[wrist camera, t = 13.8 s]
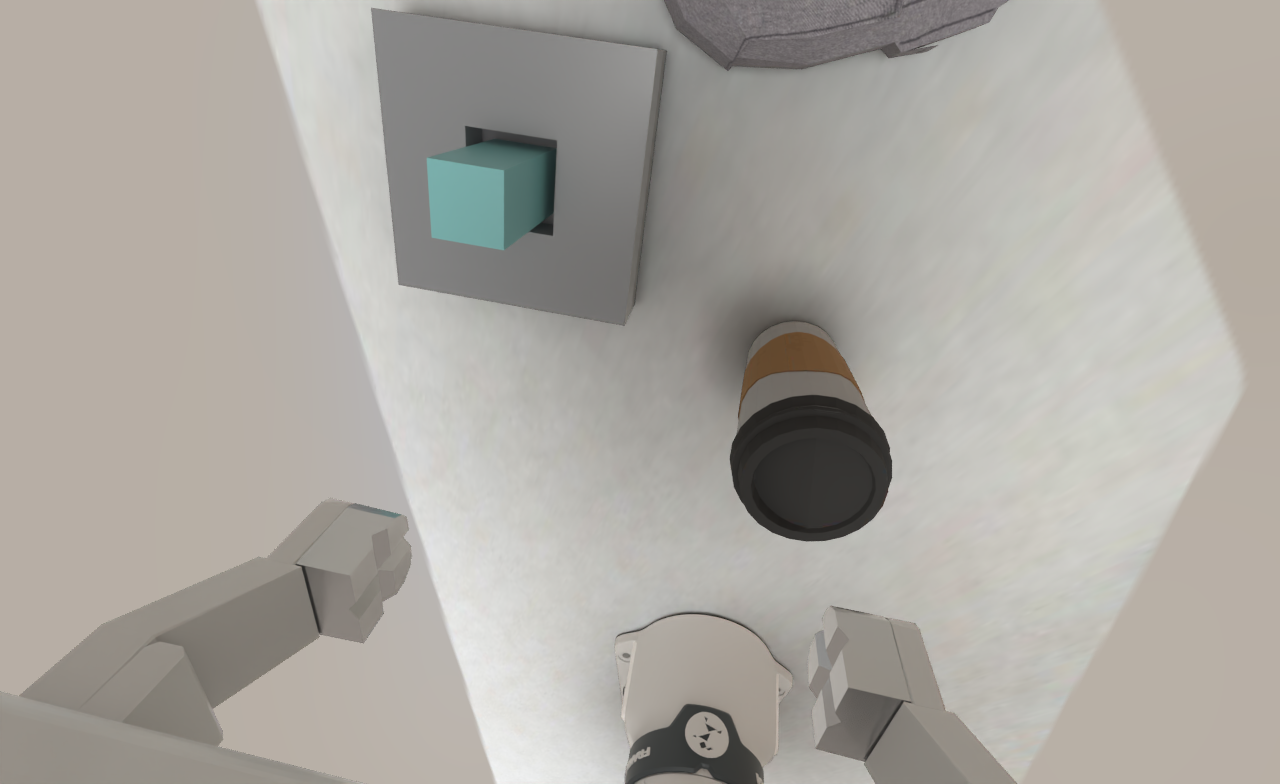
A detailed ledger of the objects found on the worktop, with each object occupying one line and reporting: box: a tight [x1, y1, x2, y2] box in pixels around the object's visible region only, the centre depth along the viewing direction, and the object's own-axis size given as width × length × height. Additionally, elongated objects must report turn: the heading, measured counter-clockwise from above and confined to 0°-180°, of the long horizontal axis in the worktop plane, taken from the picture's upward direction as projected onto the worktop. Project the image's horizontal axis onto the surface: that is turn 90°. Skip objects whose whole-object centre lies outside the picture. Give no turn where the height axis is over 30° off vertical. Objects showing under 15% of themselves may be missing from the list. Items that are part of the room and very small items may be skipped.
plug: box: [427, 139, 557, 250], centre depth 33 cm, size 4×4×9 cm
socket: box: [371, 8, 667, 326], centre depth 36 cm, size 16×16×4 cm
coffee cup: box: [730, 321, 892, 541], centre depth 35 cm, size 8×8×15 cm
